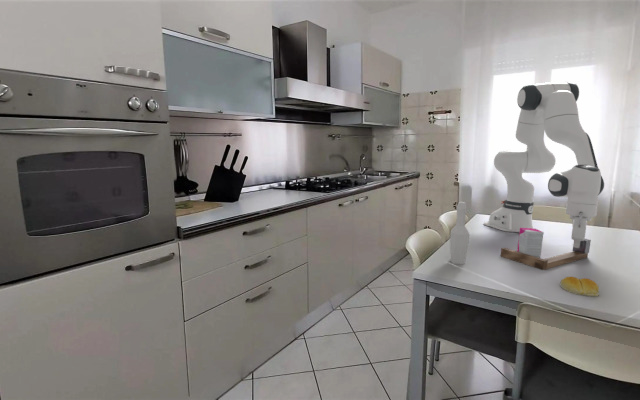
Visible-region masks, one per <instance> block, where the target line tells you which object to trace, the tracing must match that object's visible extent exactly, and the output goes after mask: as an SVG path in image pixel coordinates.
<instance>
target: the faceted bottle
mask: <svg viewBox="0 0 640 400" xmlns="http://www.w3.org/2000/svg"><path fill="white" fill-rule="evenodd" d="M467 210H468V207H467V203H466V201H458V203H457V205H456V221H455V223H456V224H455V225H454V226H453V227H452V228H451V230H450V234H449V235H450V236H449V251H450V262H451V263H452V264H454V265H464V264H465V262H466V259H467V254H468V249H469V242H470V232H469V230H468V228H467V227H466V216H467Z"/></svg>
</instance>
